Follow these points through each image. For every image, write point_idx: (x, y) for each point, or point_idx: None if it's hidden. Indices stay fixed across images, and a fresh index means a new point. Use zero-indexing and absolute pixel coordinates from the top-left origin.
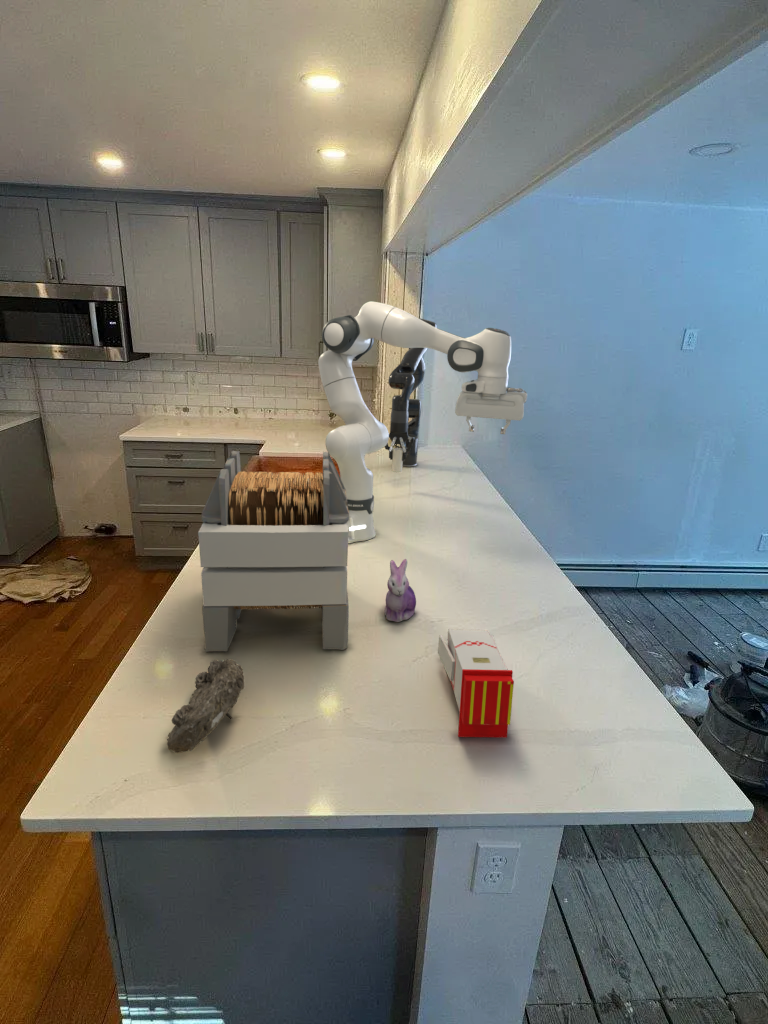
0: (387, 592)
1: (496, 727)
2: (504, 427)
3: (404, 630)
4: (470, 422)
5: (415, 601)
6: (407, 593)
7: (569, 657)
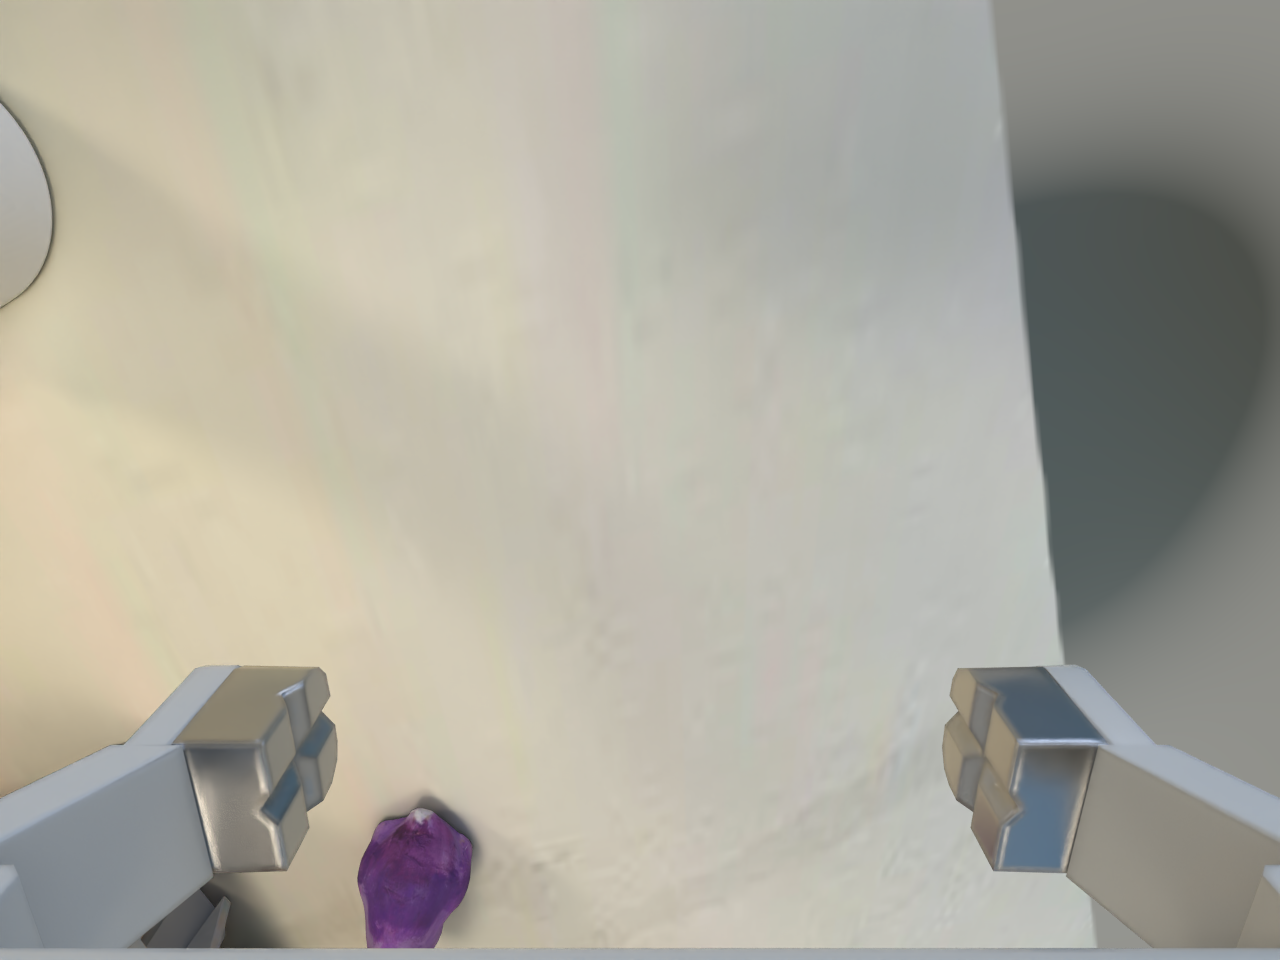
0: (358, 884)
1: None
2: (1100, 891)
3: (467, 921)
4: (103, 828)
5: (465, 887)
6: (431, 940)
7: (934, 934)
